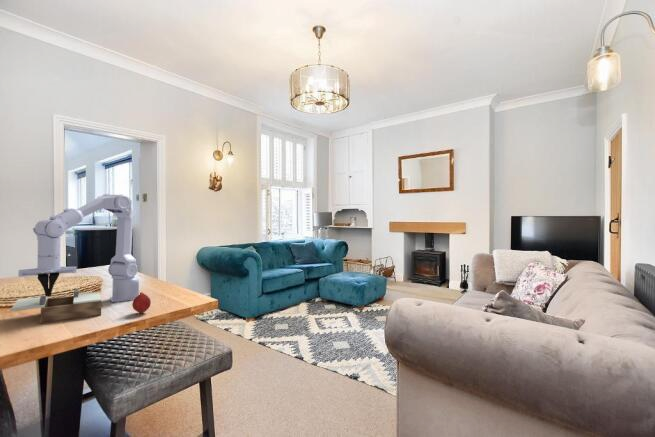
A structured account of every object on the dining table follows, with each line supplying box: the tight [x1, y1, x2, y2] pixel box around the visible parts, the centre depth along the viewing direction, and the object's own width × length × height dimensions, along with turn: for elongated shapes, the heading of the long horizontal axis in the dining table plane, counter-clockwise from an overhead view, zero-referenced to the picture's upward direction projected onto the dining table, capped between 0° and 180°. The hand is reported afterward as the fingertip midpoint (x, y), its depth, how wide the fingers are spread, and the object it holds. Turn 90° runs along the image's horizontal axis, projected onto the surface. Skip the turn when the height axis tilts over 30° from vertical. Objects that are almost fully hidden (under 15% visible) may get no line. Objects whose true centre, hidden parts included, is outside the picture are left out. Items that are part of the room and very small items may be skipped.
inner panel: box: [73, 288, 102, 304], centre depth 116 cm, size 8×13×3 cm, turn 37°
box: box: [40, 295, 102, 324], centre depth 113 cm, size 16×13×5 cm
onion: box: [131, 291, 152, 315], centre depth 117 cm, size 6×6×8 cm
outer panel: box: [10, 295, 49, 312], centre depth 106 cm, size 8×13×3 cm, turn 37°
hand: (48, 295), depth 107 cm, fingers closed
